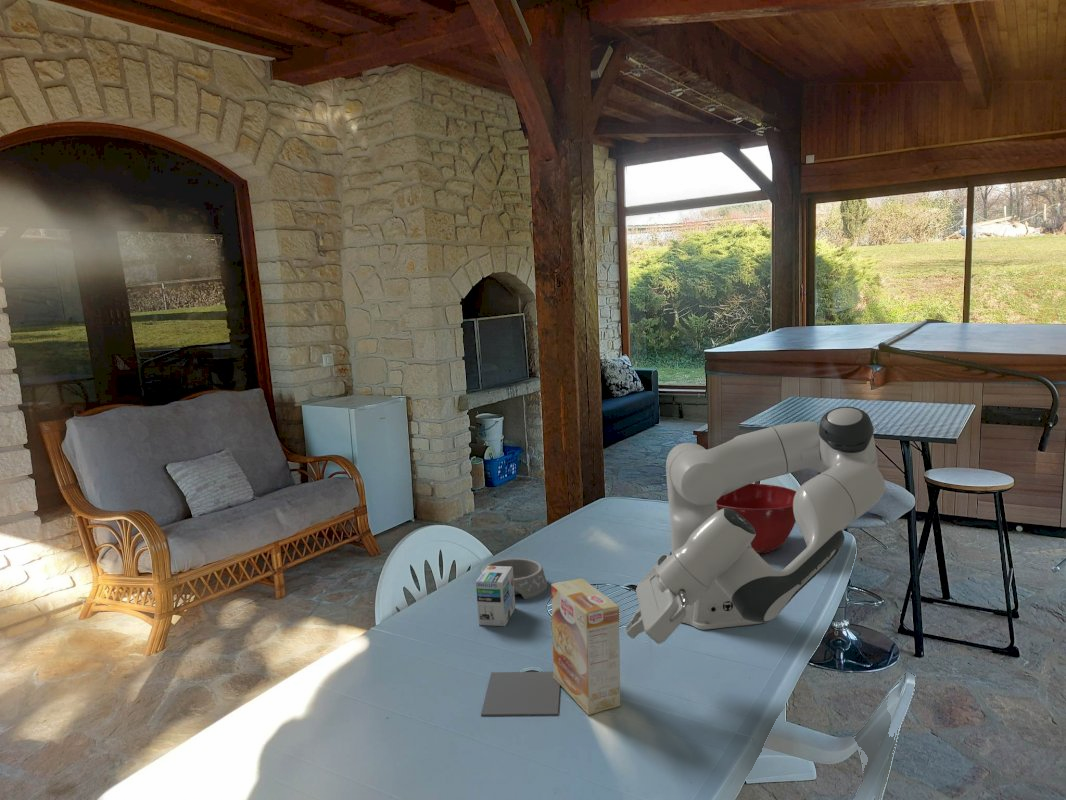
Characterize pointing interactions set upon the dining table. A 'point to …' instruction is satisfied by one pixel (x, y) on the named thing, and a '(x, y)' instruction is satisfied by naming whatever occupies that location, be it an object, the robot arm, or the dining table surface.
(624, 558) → the dining table surface
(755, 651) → the dining table surface
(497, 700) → the mat
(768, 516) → the mixing bowl
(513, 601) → the light bulb box
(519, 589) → the dog bowl
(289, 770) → the dining table surface
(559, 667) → the coffeecake box
